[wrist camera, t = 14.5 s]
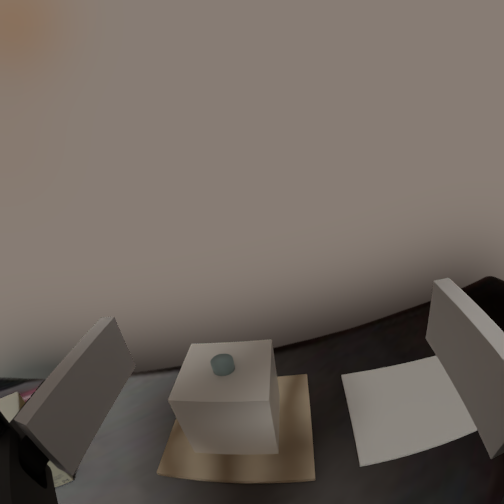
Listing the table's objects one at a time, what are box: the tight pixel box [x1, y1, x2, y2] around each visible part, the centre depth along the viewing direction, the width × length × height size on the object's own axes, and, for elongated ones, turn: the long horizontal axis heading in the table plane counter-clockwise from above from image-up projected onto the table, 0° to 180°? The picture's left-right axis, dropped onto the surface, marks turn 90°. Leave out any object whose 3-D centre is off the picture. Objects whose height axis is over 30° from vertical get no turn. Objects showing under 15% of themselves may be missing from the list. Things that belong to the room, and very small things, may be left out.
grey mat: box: [341, 356, 477, 467], centre depth 30 cm, size 16×16×1 cm
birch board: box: [157, 374, 315, 483], centre depth 33 cm, size 18×18×1 cm
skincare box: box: [0, 392, 73, 487], centre depth 22 cm, size 6×4×12 cm
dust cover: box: [168, 339, 280, 455], centre depth 31 cm, size 10×10×11 cm
